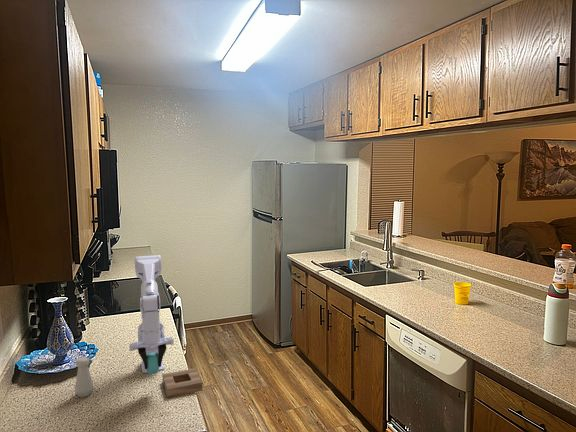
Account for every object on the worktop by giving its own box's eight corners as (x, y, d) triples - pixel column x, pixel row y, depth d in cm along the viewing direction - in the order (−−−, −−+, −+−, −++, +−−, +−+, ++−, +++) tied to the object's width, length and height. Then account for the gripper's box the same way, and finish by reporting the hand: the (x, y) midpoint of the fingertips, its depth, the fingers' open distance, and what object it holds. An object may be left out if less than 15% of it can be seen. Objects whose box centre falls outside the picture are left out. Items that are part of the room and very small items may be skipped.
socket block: (162, 382, 161) (162, 374, 161) (195, 375, 166) (195, 368, 166) (167, 397, 150) (167, 389, 150) (202, 390, 155) (202, 382, 155)
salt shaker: (88, 388, 157) (86, 353, 156) (96, 393, 153) (94, 357, 152) (72, 395, 153) (70, 359, 151) (80, 400, 149) (78, 363, 148)
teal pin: (146, 370, 155) (145, 353, 155) (158, 367, 157) (157, 351, 156) (147, 374, 152) (146, 358, 151) (159, 372, 153) (158, 356, 152)
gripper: (129, 336, 146) (131, 375, 148) (174, 330, 152) (175, 367, 153) (128, 329, 153) (130, 366, 154) (171, 323, 158) (172, 359, 160)
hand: (152, 366), depth 154 cm, fingers closed on teal pin, 4 cm apart
